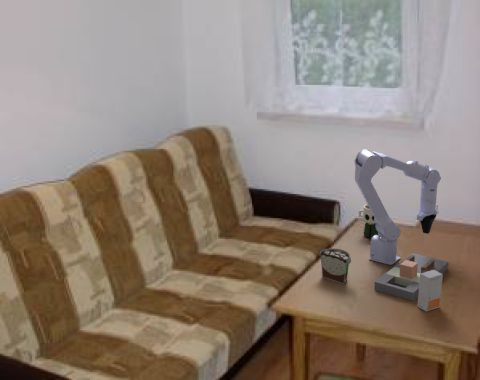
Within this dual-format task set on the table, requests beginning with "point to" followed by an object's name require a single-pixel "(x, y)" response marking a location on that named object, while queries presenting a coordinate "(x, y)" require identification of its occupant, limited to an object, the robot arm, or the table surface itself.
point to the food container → (335, 264)
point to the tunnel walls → (425, 267)
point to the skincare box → (430, 290)
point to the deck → (406, 286)
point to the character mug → (368, 222)
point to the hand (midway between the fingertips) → (426, 232)
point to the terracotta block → (408, 269)
